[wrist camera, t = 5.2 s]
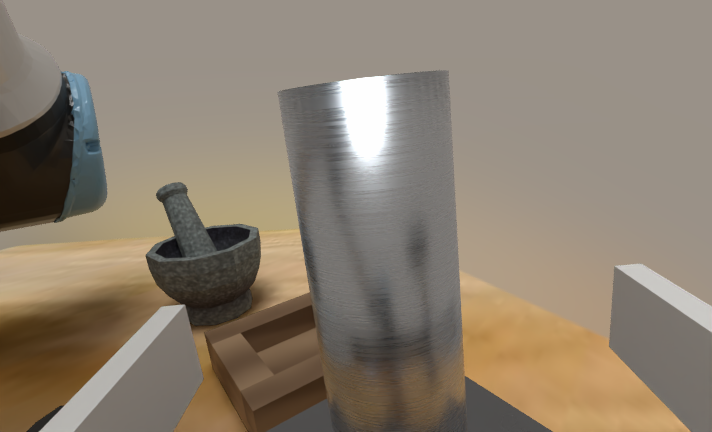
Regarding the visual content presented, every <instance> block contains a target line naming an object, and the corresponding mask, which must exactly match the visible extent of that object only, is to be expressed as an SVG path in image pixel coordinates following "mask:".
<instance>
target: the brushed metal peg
mask: <svg viewBox="0 0 712 432" xmlns="http://www.w3.org/2000/svg"><path fill="white" fill-rule="evenodd" d="M278 98H279V104H280V110H281V117H282V123H283V129H284V135H285V141H286V147H287V153H288V159H289V166H290V172H291V178H292V184H293V190H294V197H295V203H296V209H297V215H298V221H299V228H300V234H301V240H302V246H303V252H304V258H305V265H306V271H307V277H308V283H309V289H310V295H311V302H312V308H313V314H314V320H315V326H316V332H317V339H318V345H319V351H320V357H321V363H322V369H323V376H324V382H325V388H326V394H327V400H328V407H329V413H330V419H331V425H332V431H333V432H468V430H467V411H466V392H465V373H464V354H463V335H462V316H461V298H460V279H459V260H458V242H457V222H456V203H455V185H454V165H453V146H452V127H451V109H450V91H449V72H448V71H427V72H415V73H404V74H395V75H386V76H377V77H369V78H361V79H353V80H345V81H338V82H330V83H323V84H317V85H310V86H304V87H298V88H292V89H288V90H283V91H279V92H278Z"/></svg>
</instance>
